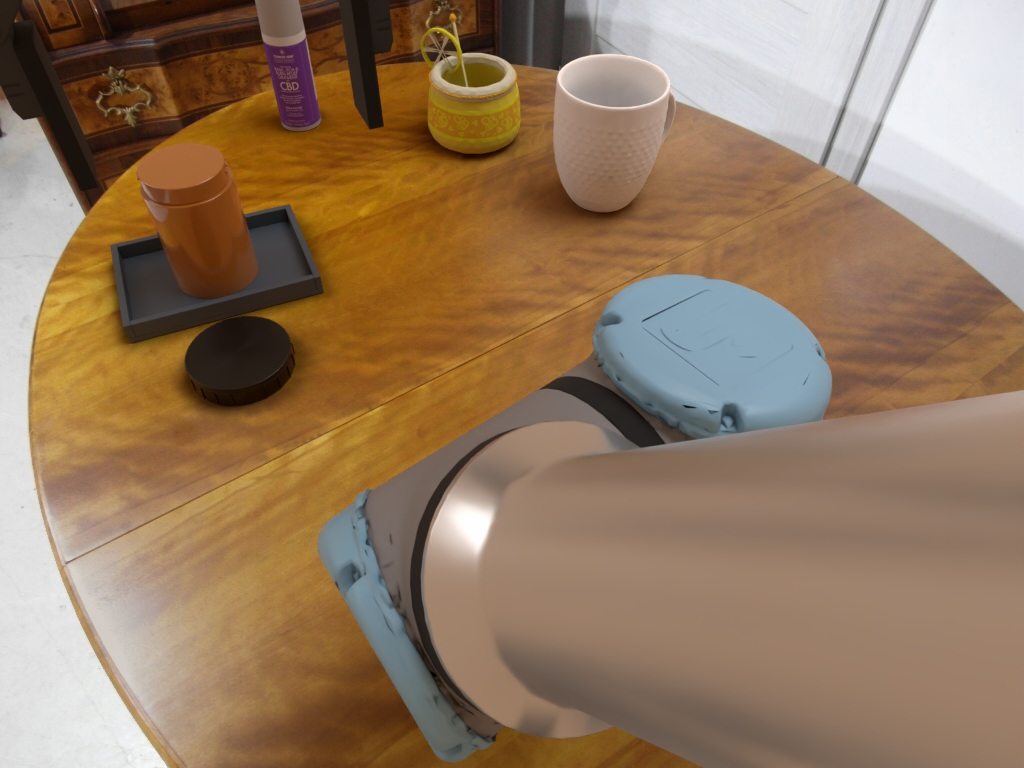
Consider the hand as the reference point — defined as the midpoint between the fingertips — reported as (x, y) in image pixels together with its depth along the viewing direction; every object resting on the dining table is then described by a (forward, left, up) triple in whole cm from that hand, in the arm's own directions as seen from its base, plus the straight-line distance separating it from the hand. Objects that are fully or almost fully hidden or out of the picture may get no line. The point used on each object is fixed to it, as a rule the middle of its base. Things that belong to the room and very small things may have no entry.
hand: (235, 144), depth 38 cm
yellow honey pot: (-28, -41, -28) cm, 58 cm away
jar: (+4, -26, -27) cm, 38 cm away
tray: (+4, -26, -28) cm, 39 cm away
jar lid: (+4, -14, -26) cm, 30 cm away
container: (-10, -51, -28) cm, 59 cm away
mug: (-37, -24, -28) cm, 53 cm away
